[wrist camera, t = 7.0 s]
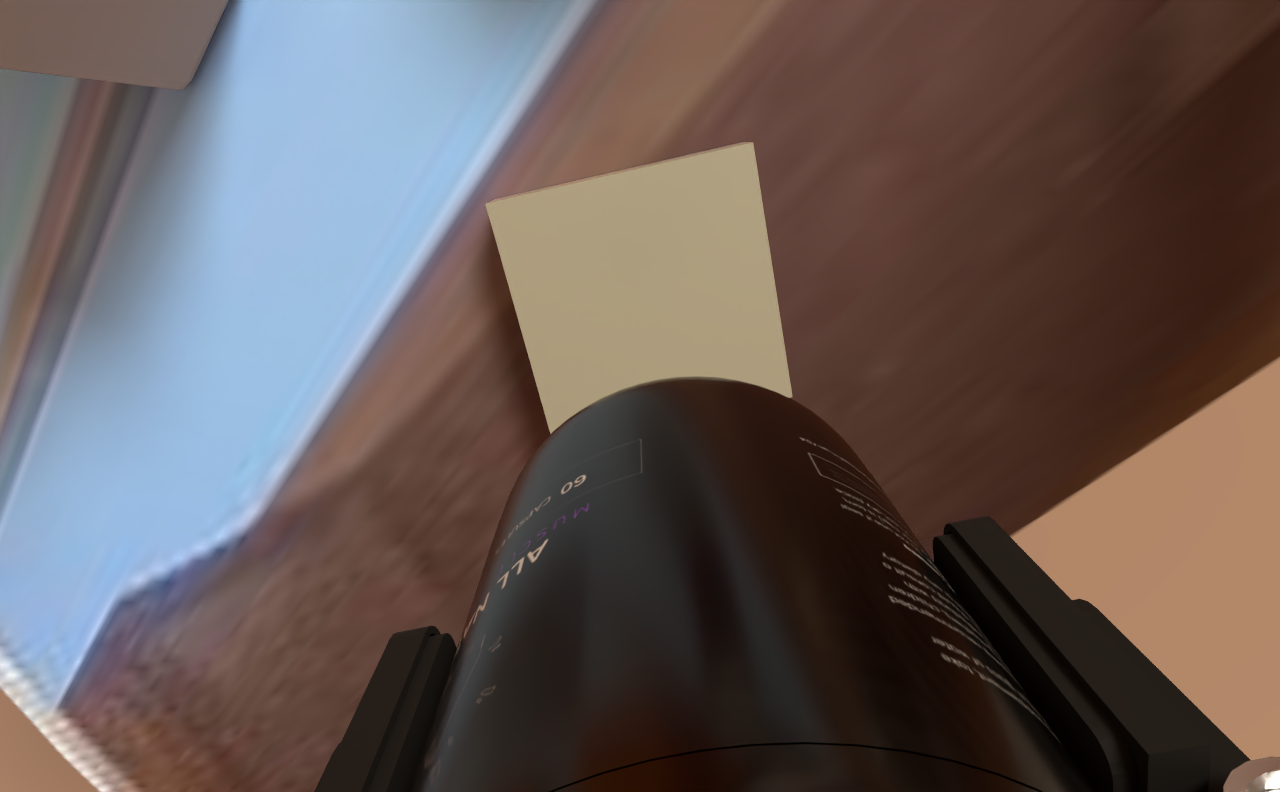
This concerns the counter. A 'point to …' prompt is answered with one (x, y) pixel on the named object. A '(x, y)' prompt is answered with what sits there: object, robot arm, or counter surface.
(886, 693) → the supplement bottle
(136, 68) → the soap bottle
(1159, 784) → the robot arm
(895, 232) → the counter surface
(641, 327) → the plate
